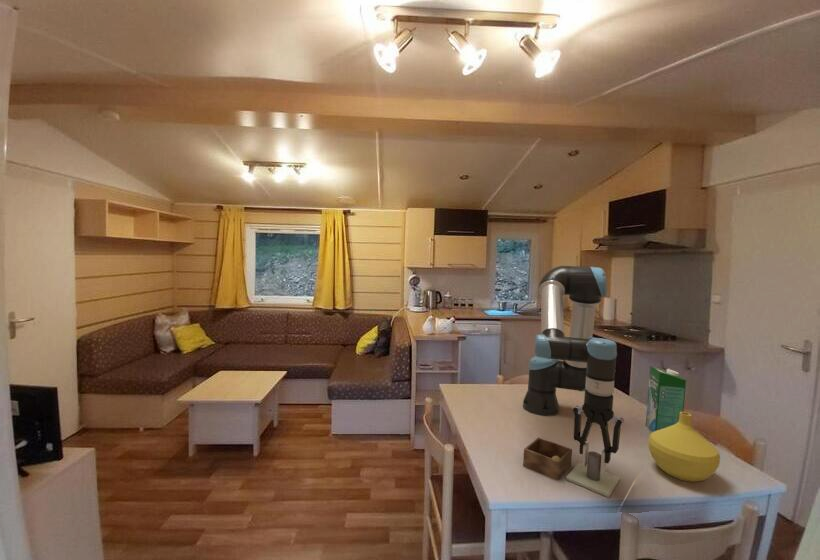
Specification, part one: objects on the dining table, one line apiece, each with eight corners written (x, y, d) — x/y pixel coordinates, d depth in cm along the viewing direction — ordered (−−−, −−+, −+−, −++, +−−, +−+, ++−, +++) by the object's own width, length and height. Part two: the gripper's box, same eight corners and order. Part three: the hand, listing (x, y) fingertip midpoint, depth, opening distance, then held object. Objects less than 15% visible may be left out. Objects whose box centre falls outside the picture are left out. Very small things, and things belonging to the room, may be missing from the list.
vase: (641, 452, 132) (646, 398, 131) (706, 465, 125) (711, 408, 124) (652, 480, 115) (657, 419, 114) (727, 497, 108) (733, 431, 107)
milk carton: (681, 439, 144) (686, 374, 142) (654, 435, 145) (660, 371, 144) (670, 428, 152) (675, 367, 151) (645, 425, 154) (650, 365, 153)
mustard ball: (549, 465, 120) (549, 456, 120) (553, 462, 123) (553, 452, 122) (558, 469, 118) (559, 460, 118) (562, 465, 121) (563, 456, 120)
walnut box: (523, 467, 120) (524, 448, 120) (537, 454, 128) (538, 437, 128) (558, 482, 113) (559, 462, 112) (570, 467, 121) (572, 449, 120)
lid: (565, 482, 113) (568, 454, 112) (578, 467, 121) (580, 441, 121) (608, 500, 105) (611, 470, 104) (619, 483, 114) (621, 454, 113)
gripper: (564, 387, 114) (559, 462, 116) (629, 403, 103) (623, 486, 104) (572, 381, 120) (568, 453, 122) (635, 396, 109) (629, 475, 110)
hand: (593, 468), depth 113 cm, fingers open, 4 cm apart
